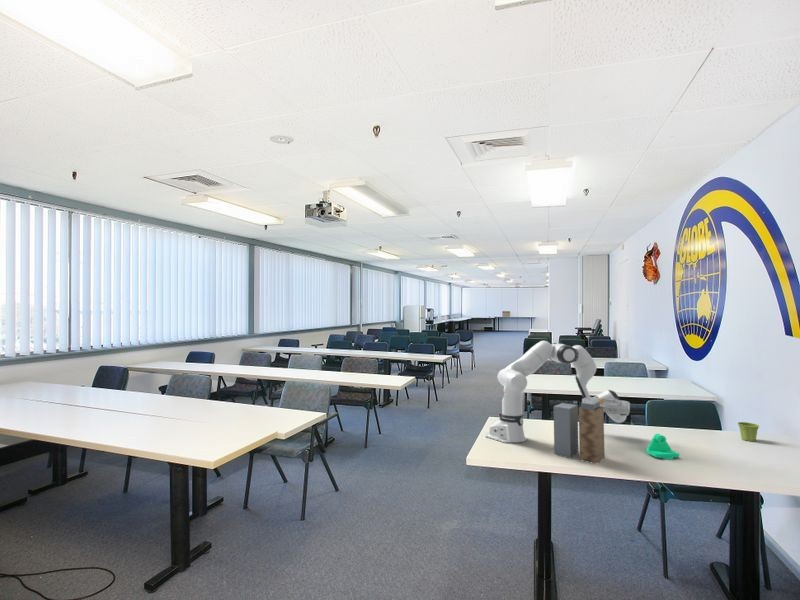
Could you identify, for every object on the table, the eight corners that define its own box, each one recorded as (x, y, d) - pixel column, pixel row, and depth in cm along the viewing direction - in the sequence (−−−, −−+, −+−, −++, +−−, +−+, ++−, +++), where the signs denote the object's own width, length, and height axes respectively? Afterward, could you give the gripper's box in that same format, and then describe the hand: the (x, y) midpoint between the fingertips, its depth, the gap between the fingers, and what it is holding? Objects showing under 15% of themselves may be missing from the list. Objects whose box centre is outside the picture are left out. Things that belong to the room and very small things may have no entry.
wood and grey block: (580, 408, 205) (580, 399, 205) (594, 401, 219) (594, 393, 219) (593, 410, 201) (593, 400, 201) (606, 403, 215) (606, 394, 215)
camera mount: (656, 459, 205) (655, 438, 205) (646, 454, 212) (645, 433, 212) (680, 459, 205) (679, 437, 205) (669, 453, 213) (668, 433, 213)
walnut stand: (579, 460, 205) (578, 408, 205) (587, 454, 213) (586, 404, 213) (597, 463, 199) (596, 410, 200) (604, 457, 207) (603, 406, 208)
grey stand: (554, 454, 213) (553, 406, 214) (562, 448, 221) (562, 402, 222) (570, 457, 208) (569, 408, 208) (578, 452, 216) (577, 405, 216)
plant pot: (753, 438, 237) (753, 422, 238) (763, 443, 228) (763, 427, 229) (734, 437, 240) (734, 421, 240) (743, 441, 231) (743, 425, 231)
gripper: (593, 399, 242) (585, 390, 233) (633, 404, 228) (626, 395, 220) (591, 410, 240) (584, 401, 231) (631, 415, 226) (625, 406, 217)
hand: (605, 398), depth 225 cm, fingers open, 8 cm apart
